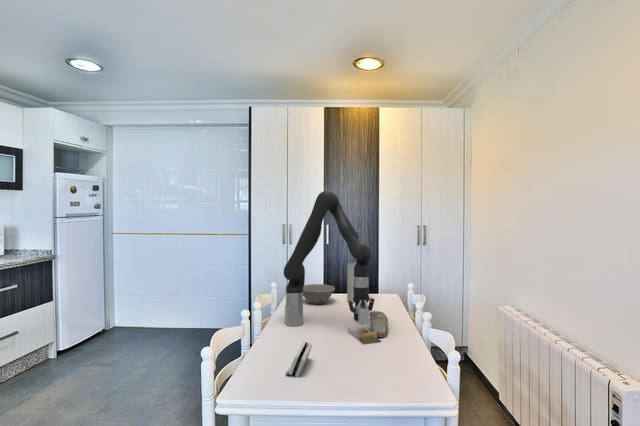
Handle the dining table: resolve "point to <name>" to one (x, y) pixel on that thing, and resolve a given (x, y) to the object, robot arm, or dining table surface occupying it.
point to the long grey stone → (378, 323)
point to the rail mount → (365, 336)
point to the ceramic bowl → (317, 293)
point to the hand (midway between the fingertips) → (361, 319)
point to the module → (363, 316)
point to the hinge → (299, 359)
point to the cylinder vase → (350, 280)
